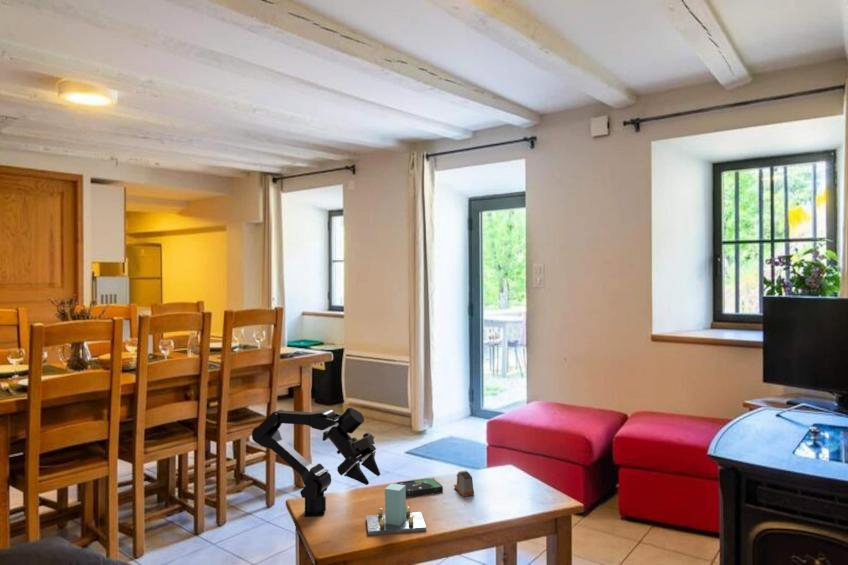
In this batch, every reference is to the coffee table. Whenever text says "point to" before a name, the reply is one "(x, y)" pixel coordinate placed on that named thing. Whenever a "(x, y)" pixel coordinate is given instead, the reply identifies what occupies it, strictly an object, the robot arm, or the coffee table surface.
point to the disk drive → (422, 487)
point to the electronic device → (464, 483)
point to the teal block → (395, 504)
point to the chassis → (411, 524)
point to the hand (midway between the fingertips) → (373, 479)
